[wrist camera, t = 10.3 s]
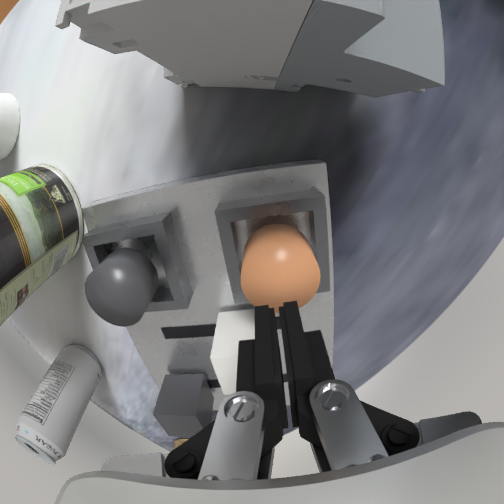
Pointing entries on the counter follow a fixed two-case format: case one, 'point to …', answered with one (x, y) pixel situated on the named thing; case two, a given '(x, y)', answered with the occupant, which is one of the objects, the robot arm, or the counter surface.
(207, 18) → the circuit breaker
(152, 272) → the button black
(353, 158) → the counter surface
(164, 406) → the slider black
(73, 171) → the counter surface
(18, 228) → the coffee can
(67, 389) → the energy drink can
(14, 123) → the cylindrical container
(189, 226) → the panel
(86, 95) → the counter surface
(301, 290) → the button orange
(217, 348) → the slider white
